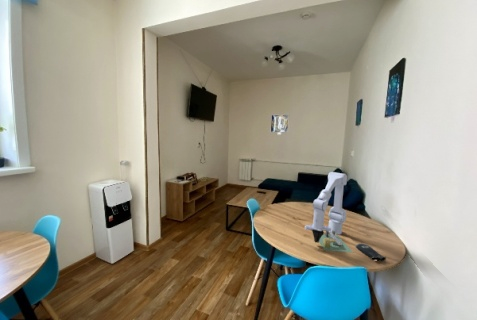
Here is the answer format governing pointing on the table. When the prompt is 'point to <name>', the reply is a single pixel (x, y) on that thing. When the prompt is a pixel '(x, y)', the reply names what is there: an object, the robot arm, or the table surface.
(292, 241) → the table surface
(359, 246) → the electronic device
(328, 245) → the tan stepped block
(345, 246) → the board
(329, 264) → the table surface
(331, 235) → the silver long flat bar
